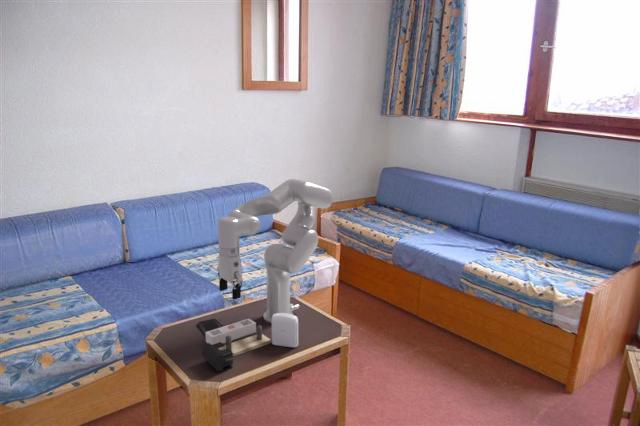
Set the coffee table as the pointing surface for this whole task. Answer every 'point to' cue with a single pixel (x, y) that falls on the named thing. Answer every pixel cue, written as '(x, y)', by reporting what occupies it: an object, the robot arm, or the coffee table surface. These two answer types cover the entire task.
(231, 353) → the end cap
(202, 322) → the phone
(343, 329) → the coffee table surface
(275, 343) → the photo printer
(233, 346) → the board
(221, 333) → the white long block
